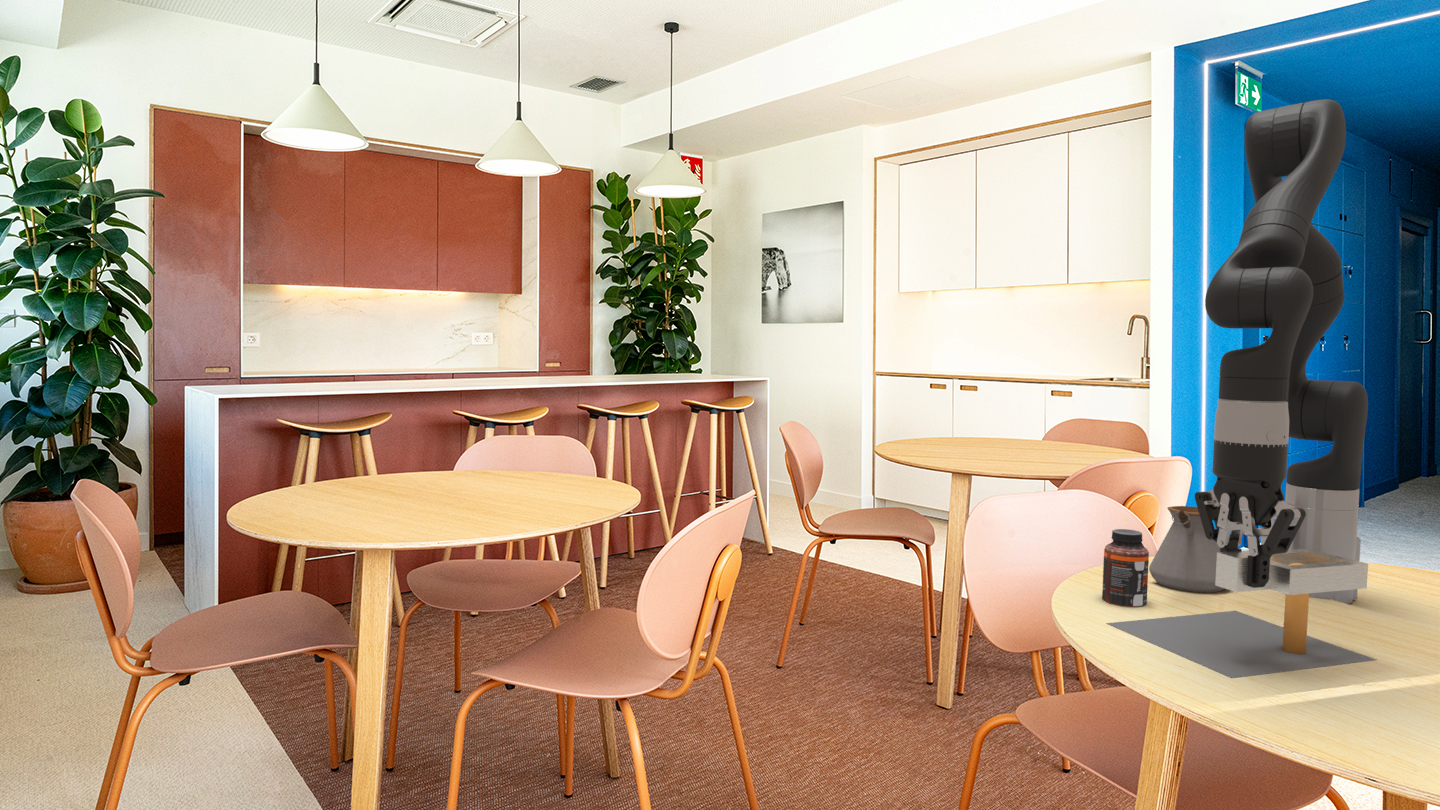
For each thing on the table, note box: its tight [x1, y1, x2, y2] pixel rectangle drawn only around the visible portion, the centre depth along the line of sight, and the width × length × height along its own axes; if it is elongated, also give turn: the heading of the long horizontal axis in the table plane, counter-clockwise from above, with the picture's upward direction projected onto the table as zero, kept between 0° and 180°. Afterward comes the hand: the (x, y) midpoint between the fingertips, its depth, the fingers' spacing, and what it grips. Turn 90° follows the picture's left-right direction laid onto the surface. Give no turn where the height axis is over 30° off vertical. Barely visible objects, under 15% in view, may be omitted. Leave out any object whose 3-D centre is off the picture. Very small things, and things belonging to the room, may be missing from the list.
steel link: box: [1215, 549, 1369, 595], centre depth 106 cm, size 17×8×4 cm, turn 107°
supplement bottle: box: [1101, 528, 1150, 608], centre depth 128 cm, size 6×6×11 cm
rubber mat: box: [1105, 610, 1378, 679], centre depth 111 cm, size 22×20×1 cm
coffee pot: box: [1148, 505, 1225, 594], centre depth 133 cm, size 21×12×15 cm, turn 146°
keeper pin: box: [1282, 563, 1310, 654], centre depth 107 cm, size 3×3×11 cm
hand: (1242, 581), depth 105 cm, fingers closed on steel link, 3 cm apart
